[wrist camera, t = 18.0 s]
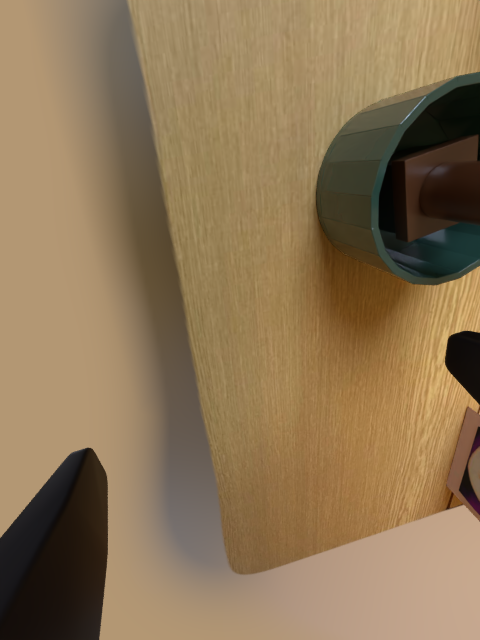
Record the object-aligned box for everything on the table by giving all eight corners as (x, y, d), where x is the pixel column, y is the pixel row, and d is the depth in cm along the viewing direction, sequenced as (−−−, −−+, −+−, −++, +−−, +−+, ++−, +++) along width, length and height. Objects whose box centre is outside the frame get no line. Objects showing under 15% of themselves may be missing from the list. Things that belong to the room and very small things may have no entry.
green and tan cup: (321, 274, 21) (370, 304, 17) (309, 114, 17) (371, 92, 12) (440, 242, 23) (519, 261, 18) (456, 86, 19) (563, 55, 14)
